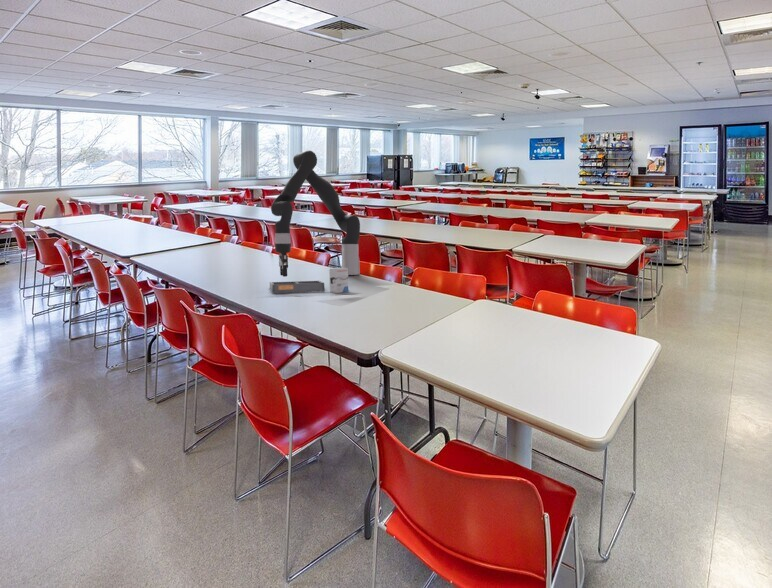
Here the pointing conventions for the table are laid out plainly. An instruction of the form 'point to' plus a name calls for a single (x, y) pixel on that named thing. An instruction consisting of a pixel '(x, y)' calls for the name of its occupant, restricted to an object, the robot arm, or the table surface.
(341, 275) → the ink box
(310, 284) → the tray
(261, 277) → the table surface
